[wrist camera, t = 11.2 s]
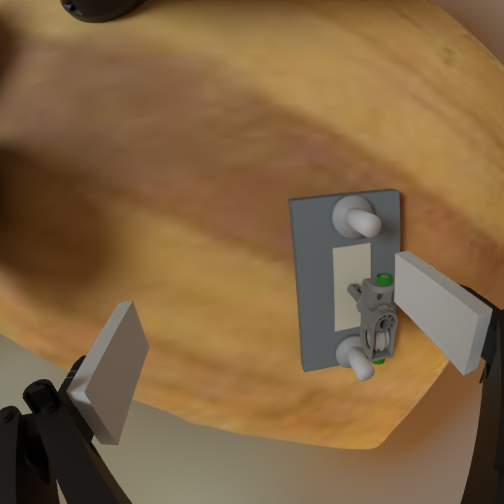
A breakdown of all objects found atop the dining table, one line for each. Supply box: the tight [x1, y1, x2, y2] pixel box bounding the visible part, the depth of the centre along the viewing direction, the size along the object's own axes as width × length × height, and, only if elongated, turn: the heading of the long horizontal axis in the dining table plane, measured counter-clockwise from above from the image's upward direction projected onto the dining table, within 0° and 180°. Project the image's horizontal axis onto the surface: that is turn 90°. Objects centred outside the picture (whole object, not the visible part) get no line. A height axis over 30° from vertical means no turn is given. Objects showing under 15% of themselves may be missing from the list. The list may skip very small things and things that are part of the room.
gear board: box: [289, 189, 400, 381], centre depth 37 cm, size 24×14×8 cm, turn 7°
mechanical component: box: [347, 273, 398, 364], centre depth 34 cm, size 3×10×10 cm, turn 7°
